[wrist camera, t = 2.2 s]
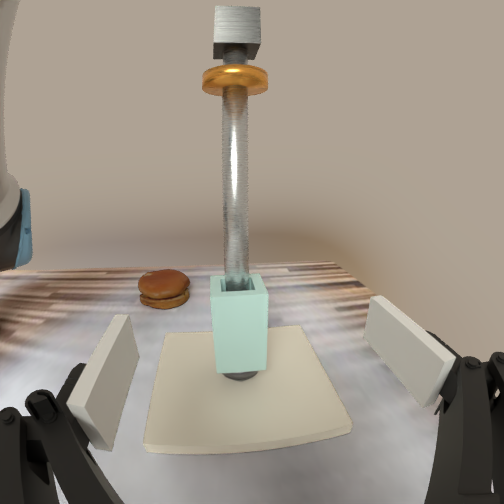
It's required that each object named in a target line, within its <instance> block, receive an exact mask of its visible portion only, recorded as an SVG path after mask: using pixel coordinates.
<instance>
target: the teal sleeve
mask: <svg viewBox="0 0 504 504" xmlns="http://www.w3.org/2000/svg"><path fill="white" fill-rule="evenodd" d="M210 302H211V315H212V327H213V339H214V350H215V360H216V370H217V374H218V373H235V372H249V371H260V370H266V363H267V332H268V292H267V290H266V287H265V285H264V283H263V280H262V278H261V276H260V274H259V273H257V274H249V290H247V291H228V292H226V286H225V275H215V276H210Z"/></svg>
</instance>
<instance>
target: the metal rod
mask: <svg viewBox="0 0 504 504" xmlns="http://www.w3.org/2000/svg"><path fill="white" fill-rule="evenodd" d="M260 30H261V29H260V8H259V7H241V6H216V7H215V25H214V49H213V53H214V54H213V59H223V65H222V66H217V67H214V68H211V69H208V70H207V71H205V72H204V73H203V82H202V89H203V91H204V92H206V93H208V94H211V95H216V96H222V172H223V173H222V180H223V225H224V227H223V229H224V259H225V286H226V292H228V291H247V290H249V260H248V259H249V257H248V96H250V95H257V94H260V93H263V92H265V91H266V90H267V89H268V74H267V72H266V71H265V70H263V69H261V68H259V67H255V66H251V65H248V60H254V59H255V57H256V54H257V51H258V49H259V46H260V44H261V32H260ZM257 373H258V371H249V372H235V373H222V374H223V375H224V376H225V377H227V378H229V379H232V380H235V381H239V382H241V381H245V380H247V379H250V378H252V377H254V376H255V375H256V374H257Z"/></svg>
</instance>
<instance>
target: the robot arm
mask: <svg viewBox="0 0 504 504" xmlns="http://www.w3.org/2000/svg"><path fill="white" fill-rule="evenodd" d="M19 2H20V0H0V272H2V271H6V270H10V269H12V270H13V269H16V268H17V267H19V266H22V265H25V264H27V263H29V262H30V260H31V258H32V253H33V252H32V234H31V213H30V194H29V191H28V190H27V189H22V188H21V189H19V185H18V182H17V180H16V179H15V178H14V177H13V176H12V175H10V174H9V173H8V172H7V164H6V154H5V142H4V141H5V140H4V88H5V75H6V65H7V58H8V51H9V45H10V39H11V34H12V29H13V25H14V20H15V16H16V12H17V9H18V5H19ZM363 338H364V339H365V340H366V341H367V342H368V343H369V345H370V346H371V347H372V348H373V349H374V350H375V352H376V353H377V354H378V355H379V356H380V358H381V359H382V360H383V361H384V362H385V363H386V365H387V366H388V367H389V368H390V369H391V371H392V372H393V373H394V374H395V375H396V377H397V378H398V379H399V380H400V381H401V383H402V384H403V385H404V386H405V387H406V389H407V390H408V391H409V392H410V393H411V395H412V396H413V397H414V398H415V399H416V401H417V402H418V403H419V404H420V406H421V407H422V408H425V407H428V406H430V405H432V404H434V403H435V401H436V399H437V397H438V395H439V394H440V395H441V396H442V397H443V398H442V400H441V402H440V404H439V406H438V408H437V409H436V411H435V414H434V415H436V414H437V413H438V411H439V410H440V414H439V415H440V416H439V427H438V436H437V444H436V451H435V457H434V463H433V468H432V473H431V478H430V483H429V487H428V491H427V495H426V499H425V503H424V504H504V353H502V352H495V353H493V354H492V355H491V358H490V360H489V361H488V362H483V363H482V362H480V360H478V359H477V358H475V357H471V356H469V357H468V356H467V357H463V358H462V357H461V356H460V355H458V354H457V353H456V352H455V351H454V350H453V349H451V348H450V347H449V346H448V345H445V343H444V342H443V341H441V339H440V338H438V337H437V336H436V335H435V334H433V333H431V332H429V331H425V330H423V329H422V328H421V327H420V326H419V325H418V324H416V323H415V322H414V321H413V320H412V319H410V318H409V317H408V316H407V315H405V314H404V313H403V312H402V311H400V310H399V309H398V308H397V307H395V306H394V305H393V304H392V303H391V302H389V301H388V300H387V299H386V298H384V297H383V296H381V295H380V296H373V297H371V299H370V305H369V310H368V316H367V321H366V326H365V331H364V336H363ZM138 360H139V353H138V349H137V346H136V342H135V338H134V334H133V330H132V326H131V321H130V317H129V314H116V315H115V316H114V318H113V320H112V321H111V323H110V325H109V326H108V328H107V330H106V331H105V333H104V335H103V336H102V338H101V340H100V341H99V343H98V345H97V347H96V348H95V350H94V352H93V354H92V356H91V357H90V359H89V361H88V363H87V364H84V363H79V364H78V365H77V366H76V367H74V368H73V369H72V371H71V372H70V374H69V376H68V379H66V381H65V383H64V385H63V386H62V388H61V390H60V392H59V394H58V395H57V397H56V399H55V397H54V395H53V394H52V392H50V391H48V390H43V389H41V390H36V391H34V392H32V393H31V394H30V395H29V396H28V397H27V399H26V401H25V407H26V408H27V410H28V412H29V413H30V415H31V416H21V414H20V413H19V411H18V410H17V409H16V408H14V407H7V408H4V409H3V410H1V411H0V504H59V499H58V495H57V490H56V486H55V480H54V475H53V472H54V474H55V476H56V479H57V481H58V483H59V485H60V487H61V489H62V491H63V493H64V495H65V497H66V499H67V501H68V503H69V504H124V503H123V501H122V500H121V499H120V497H119V496H118V494H117V493H116V492H115V490H114V489H113V487H112V486H111V484H110V483H109V482H108V480H107V479H106V477H105V475H104V474H103V472H102V471H101V469H100V468H99V466H98V464H97V463H96V461H95V459H94V458H93V456H92V454H91V452H90V451H89V450H88V448H87V447H88V444H89V441H90V442H91V444H92V445H93V446H94V448H95V449H100V450H105V451H111V452H112V449H113V445H114V441H115V437H116V433H117V429H118V426H119V422H120V418H121V415H122V411H123V408H124V405H125V401H126V398H127V395H128V391H129V388H130V385H131V382H132V379H133V375H134V372H135V369H136V366H137V363H138ZM497 389H499V391H500V394H499V396H498V397H497V398H496V397H495V393H496V391H497ZM492 481H493V488H494V493H492V492H491V484H492Z"/></svg>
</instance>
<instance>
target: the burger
mask: <svg viewBox="0 0 504 504" xmlns="http://www.w3.org/2000/svg"><path fill="white" fill-rule="evenodd" d="M189 285H190V281H189V278H188V277H187V276H186V275H185V274H184V273H182V272H180V271H176V270H170V269H167V270H160V271H153V272H147V273H146V274H145V275H143V276H142V277H141V278H140V280H139V282H138V288H139V290H140V292H141V293H142V294H141V295H140V301H141V303H142V304H143V305H147V306H148V305H149V306H151V307H153V308H158V309H159V308H161V309H169V308H173V307H177V306H180V305H182V304H183V303H185V302H186V301H187V300H188V298H189V292H188V288H187V287H188V286H189Z"/></svg>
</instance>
